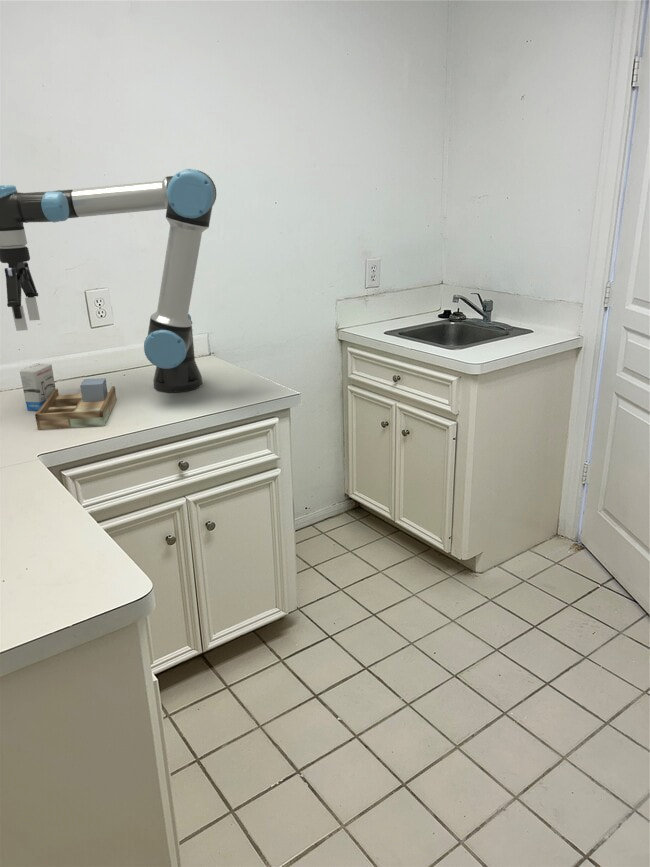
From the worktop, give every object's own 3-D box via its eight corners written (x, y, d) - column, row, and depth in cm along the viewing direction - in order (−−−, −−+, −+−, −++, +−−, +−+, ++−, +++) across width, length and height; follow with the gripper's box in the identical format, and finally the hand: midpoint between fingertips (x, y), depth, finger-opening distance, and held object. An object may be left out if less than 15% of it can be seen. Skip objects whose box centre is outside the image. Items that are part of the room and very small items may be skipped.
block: (107, 394, 189) (105, 378, 187) (104, 400, 183) (102, 384, 182) (86, 395, 188) (84, 379, 186) (82, 402, 183) (80, 385, 181)
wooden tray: (116, 399, 192) (114, 386, 190) (104, 425, 172) (102, 410, 170) (57, 402, 190) (54, 389, 188) (37, 429, 169) (34, 414, 168)
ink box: (41, 411, 183) (34, 371, 178) (26, 410, 184) (18, 370, 179) (59, 401, 190) (52, 363, 186) (44, 400, 191) (37, 362, 187)
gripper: (11, 243, 183) (26, 317, 191) (-18, 252, 160) (1, 335, 168) (38, 241, 184) (52, 315, 192) (14, 250, 161) (31, 333, 169)
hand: (28, 325), depth 180 cm, fingers open, 13 cm apart
